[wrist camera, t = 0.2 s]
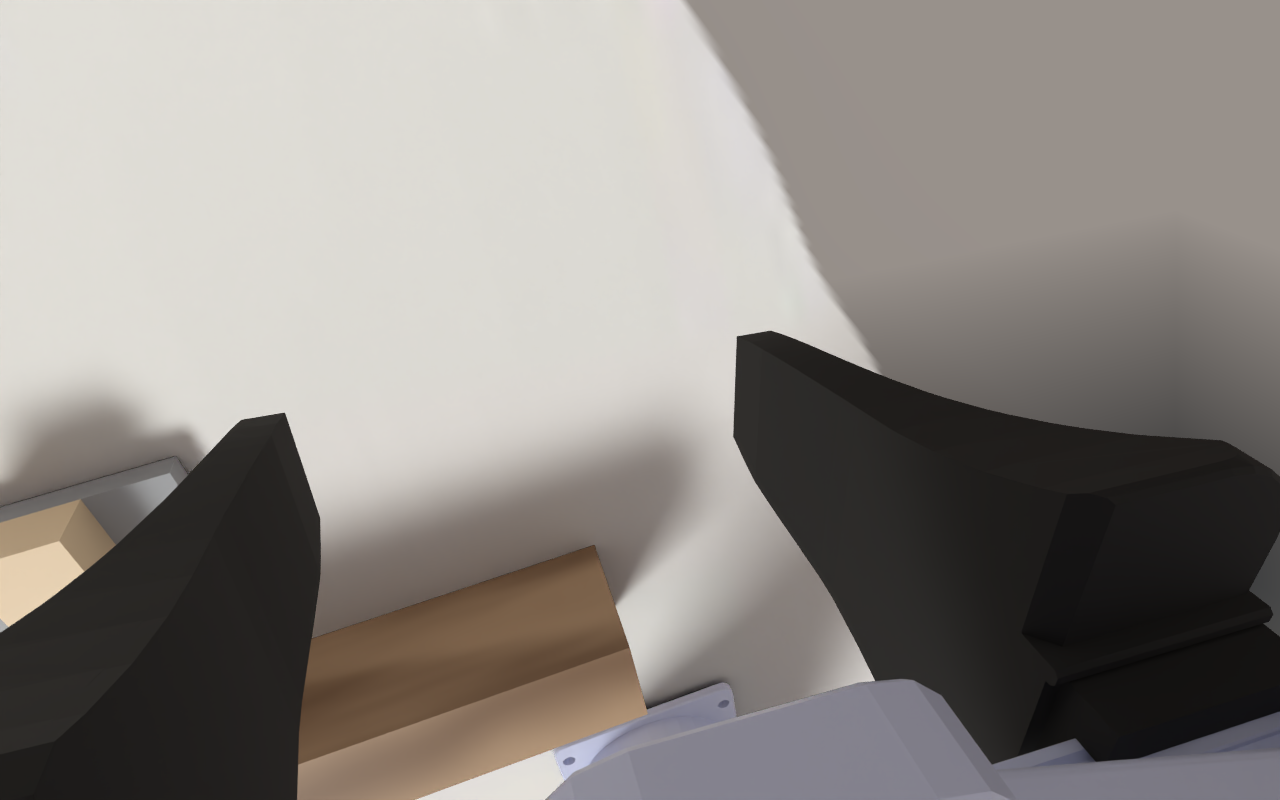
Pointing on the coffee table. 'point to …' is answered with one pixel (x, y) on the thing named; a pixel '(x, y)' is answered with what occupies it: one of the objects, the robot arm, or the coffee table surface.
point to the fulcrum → (73, 532)
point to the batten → (465, 684)
